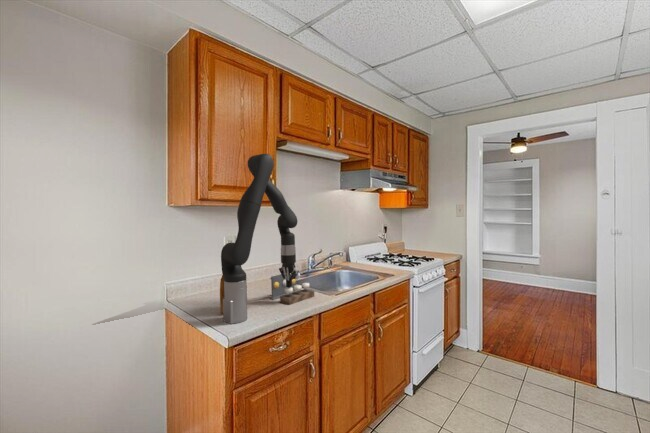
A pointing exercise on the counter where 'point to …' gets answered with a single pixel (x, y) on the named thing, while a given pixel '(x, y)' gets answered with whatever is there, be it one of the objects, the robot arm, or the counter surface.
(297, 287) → the button mid
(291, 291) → the button near
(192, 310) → the counter surface
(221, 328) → the counter surface
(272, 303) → the counter surface
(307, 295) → the button board
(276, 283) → the pattern card
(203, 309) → the counter surface
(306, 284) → the button far
